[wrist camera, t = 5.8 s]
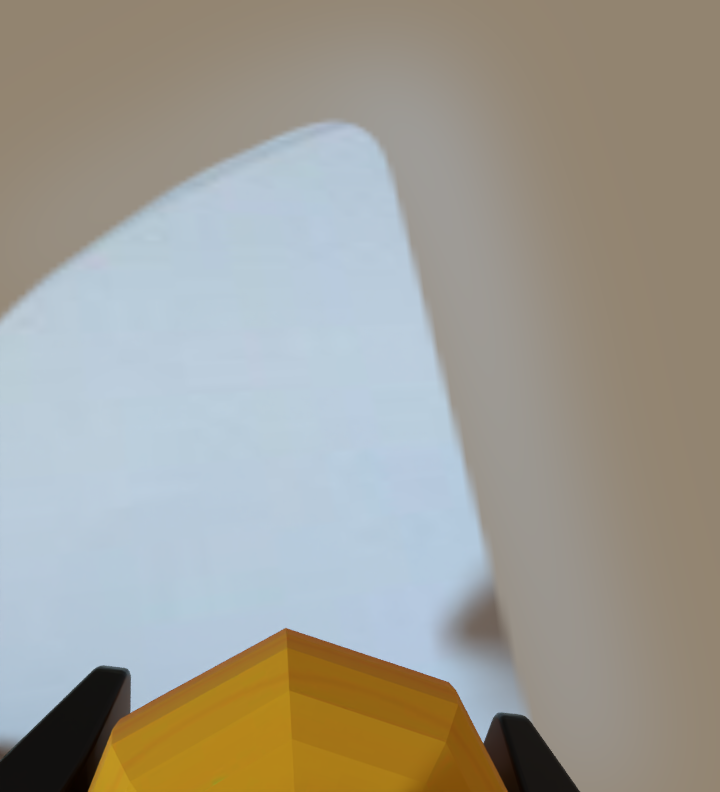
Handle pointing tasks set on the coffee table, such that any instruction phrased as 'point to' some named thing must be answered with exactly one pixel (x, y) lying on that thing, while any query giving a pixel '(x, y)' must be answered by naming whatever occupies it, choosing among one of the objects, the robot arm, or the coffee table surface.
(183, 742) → the carrot
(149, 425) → the coffee table surface
